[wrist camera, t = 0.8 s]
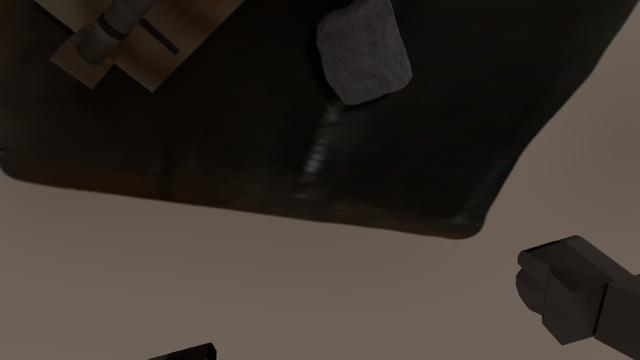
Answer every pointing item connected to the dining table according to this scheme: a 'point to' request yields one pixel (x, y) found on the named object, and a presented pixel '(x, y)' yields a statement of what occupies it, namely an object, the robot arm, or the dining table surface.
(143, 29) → the pipe stand
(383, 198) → the dining table surface
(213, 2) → the collar
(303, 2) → the dining table surface
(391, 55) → the stone block
